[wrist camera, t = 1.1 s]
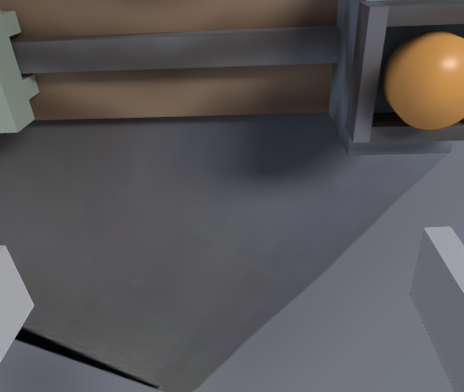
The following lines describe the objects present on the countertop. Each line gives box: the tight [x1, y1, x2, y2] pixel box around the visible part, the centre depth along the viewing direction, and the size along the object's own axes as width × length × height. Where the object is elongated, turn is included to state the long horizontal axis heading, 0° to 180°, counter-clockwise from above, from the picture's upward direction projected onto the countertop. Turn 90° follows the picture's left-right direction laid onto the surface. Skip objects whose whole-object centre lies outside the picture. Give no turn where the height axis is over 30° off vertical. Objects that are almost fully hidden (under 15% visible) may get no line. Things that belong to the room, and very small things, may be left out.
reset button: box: [382, 30, 464, 130], centre depth 23 cm, size 5×5×2 cm
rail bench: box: [0, 0, 464, 155], centre depth 30 cm, size 12×50×12 cm, turn 93°
